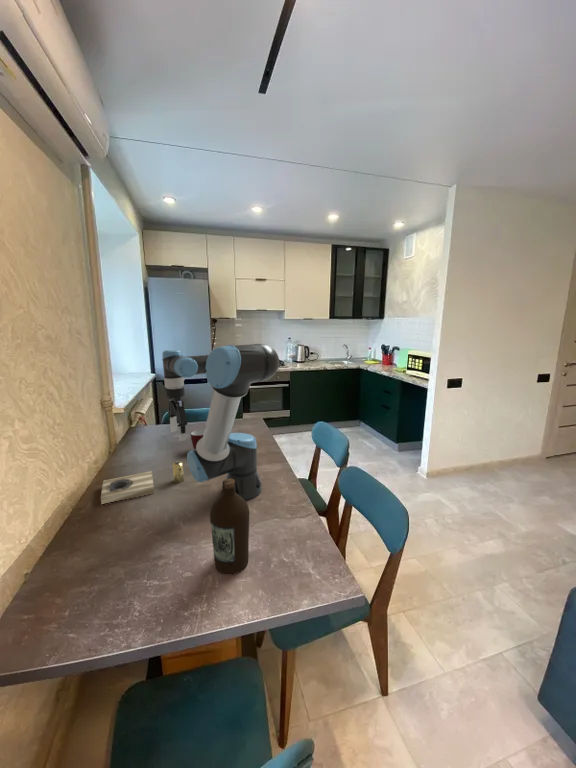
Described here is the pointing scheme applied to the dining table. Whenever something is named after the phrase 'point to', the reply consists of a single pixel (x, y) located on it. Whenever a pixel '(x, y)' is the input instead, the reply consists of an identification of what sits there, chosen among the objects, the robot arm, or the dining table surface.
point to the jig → (127, 487)
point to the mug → (196, 437)
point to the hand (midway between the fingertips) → (178, 435)
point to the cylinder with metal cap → (178, 472)
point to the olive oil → (230, 530)
